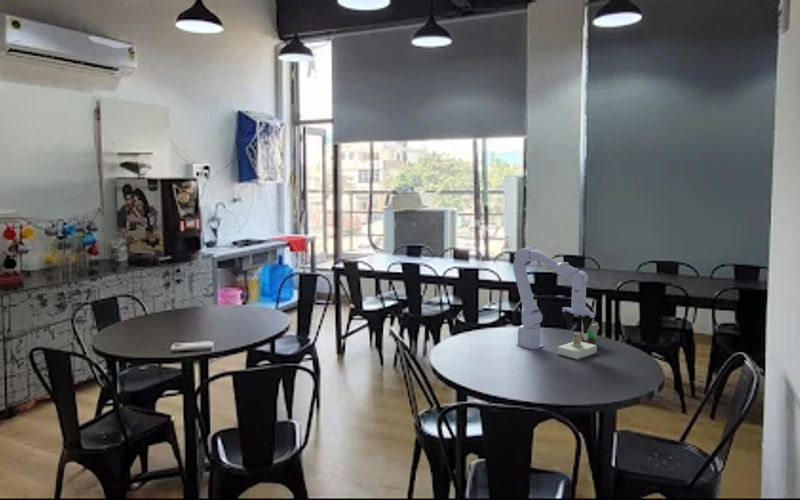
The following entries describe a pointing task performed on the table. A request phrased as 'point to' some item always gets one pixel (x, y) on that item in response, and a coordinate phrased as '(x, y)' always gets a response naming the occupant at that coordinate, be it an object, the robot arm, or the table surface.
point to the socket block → (576, 350)
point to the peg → (577, 340)
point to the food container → (590, 333)
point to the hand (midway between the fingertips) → (577, 331)
